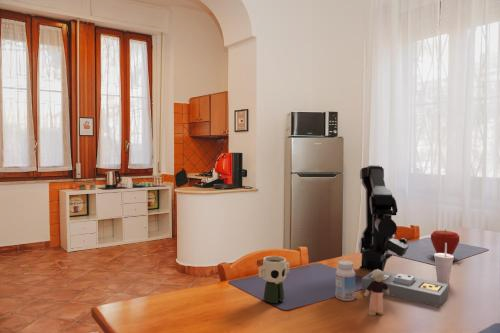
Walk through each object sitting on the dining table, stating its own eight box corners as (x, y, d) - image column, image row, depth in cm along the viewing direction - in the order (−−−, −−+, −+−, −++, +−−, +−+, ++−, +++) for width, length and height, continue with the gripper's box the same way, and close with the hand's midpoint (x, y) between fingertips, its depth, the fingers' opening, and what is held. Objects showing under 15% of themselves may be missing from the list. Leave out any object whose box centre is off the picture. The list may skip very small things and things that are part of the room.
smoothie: (455, 286, 135) (457, 245, 134) (435, 284, 136) (436, 244, 135) (450, 280, 141) (451, 241, 140) (430, 278, 142) (432, 240, 142)
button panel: (361, 288, 132) (361, 278, 132) (374, 279, 141) (374, 269, 141) (439, 306, 117) (440, 295, 117) (448, 295, 127) (448, 284, 126)
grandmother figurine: (371, 318, 109) (372, 272, 108) (361, 312, 113) (363, 268, 112) (392, 313, 112) (393, 269, 112) (383, 308, 116) (384, 265, 115)
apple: (459, 255, 174) (460, 228, 173) (457, 261, 165) (458, 232, 164) (432, 251, 180) (433, 225, 179) (428, 257, 171) (429, 229, 170)
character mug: (264, 308, 115) (264, 264, 114) (252, 299, 121) (253, 258, 121) (295, 301, 120) (296, 259, 119) (282, 293, 126) (283, 253, 126)
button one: (370, 283, 134) (370, 276, 133) (375, 279, 138) (375, 272, 137) (384, 287, 130) (384, 279, 130) (389, 283, 134) (389, 275, 134)
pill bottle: (355, 295, 126) (356, 260, 125) (354, 302, 120) (355, 266, 119) (336, 293, 127) (337, 258, 127) (334, 300, 122) (334, 264, 121)
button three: (419, 294, 124) (420, 286, 124) (424, 290, 128) (424, 282, 128) (437, 298, 121) (437, 290, 121) (440, 294, 125) (441, 285, 125)
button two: (394, 284, 129) (394, 276, 128) (398, 280, 133) (399, 272, 132) (410, 288, 126) (410, 279, 125) (414, 283, 130) (414, 275, 129)
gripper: (396, 238, 121) (395, 288, 122) (413, 228, 136) (412, 273, 136) (361, 233, 128) (360, 281, 128) (381, 224, 142) (380, 267, 143)
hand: (380, 275), depth 134 cm, fingers closed, pressing on button one
